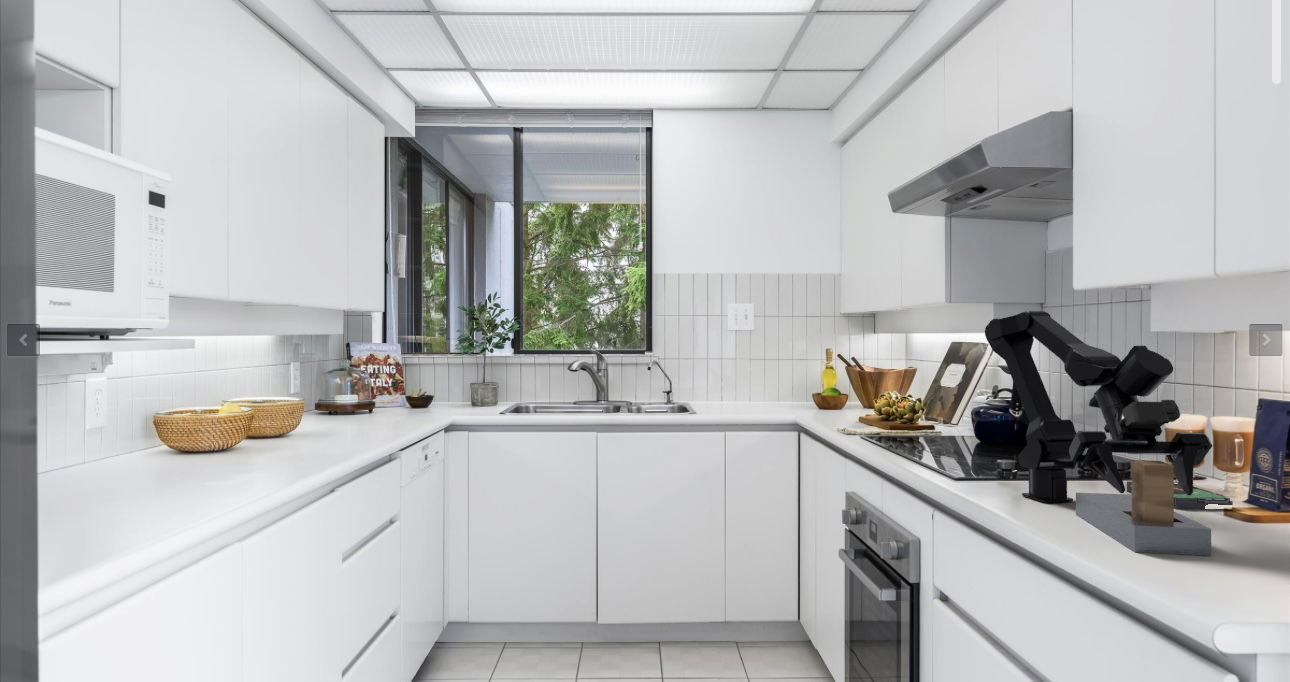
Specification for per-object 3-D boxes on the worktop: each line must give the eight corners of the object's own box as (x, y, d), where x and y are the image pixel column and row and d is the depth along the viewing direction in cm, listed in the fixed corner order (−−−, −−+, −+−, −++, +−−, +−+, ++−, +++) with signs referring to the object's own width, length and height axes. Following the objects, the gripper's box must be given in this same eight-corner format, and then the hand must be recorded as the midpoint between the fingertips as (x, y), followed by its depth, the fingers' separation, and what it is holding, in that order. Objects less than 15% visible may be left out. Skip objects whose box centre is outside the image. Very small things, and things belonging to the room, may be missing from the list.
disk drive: (1125, 494, 143) (1176, 512, 128) (1124, 481, 143) (1176, 496, 128) (1177, 494, 142) (1234, 512, 128) (1176, 481, 142) (1234, 496, 128)
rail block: (1075, 514, 125) (1075, 492, 125) (1138, 517, 123) (1138, 494, 123) (1134, 552, 104) (1134, 525, 104) (1211, 556, 102) (1211, 528, 102)
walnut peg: (1131, 538, 111) (1131, 460, 111) (1160, 539, 110) (1159, 460, 110) (1144, 545, 107) (1144, 464, 107) (1173, 546, 106) (1173, 465, 106)
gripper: (1075, 382, 114) (1105, 461, 103) (1205, 382, 110) (1250, 464, 100) (1057, 423, 122) (1083, 501, 111) (1178, 425, 118) (1217, 506, 107)
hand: (1156, 492), depth 107 cm, fingers open, 9 cm apart
